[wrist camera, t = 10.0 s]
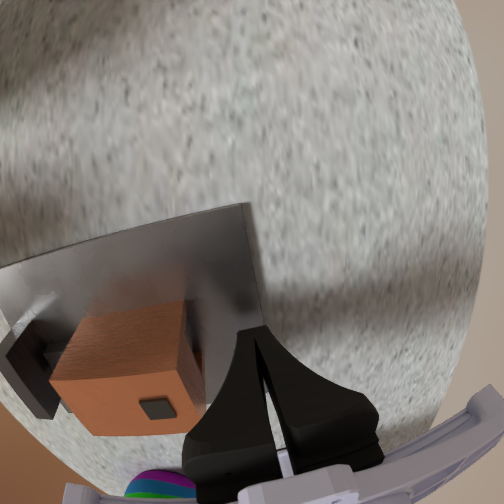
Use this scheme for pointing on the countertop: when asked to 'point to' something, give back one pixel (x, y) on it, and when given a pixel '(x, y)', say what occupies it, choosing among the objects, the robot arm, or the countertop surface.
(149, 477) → the decorative egg
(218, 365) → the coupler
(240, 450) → the robot arm
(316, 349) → the countertop surface
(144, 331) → the orange block
